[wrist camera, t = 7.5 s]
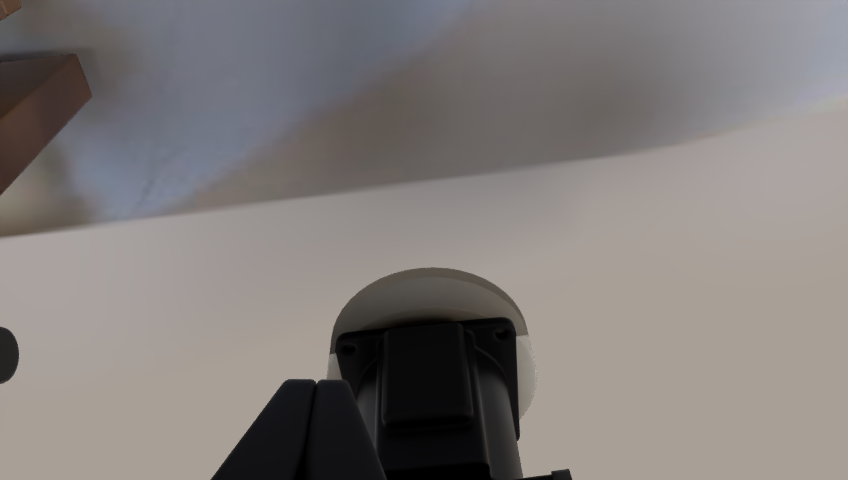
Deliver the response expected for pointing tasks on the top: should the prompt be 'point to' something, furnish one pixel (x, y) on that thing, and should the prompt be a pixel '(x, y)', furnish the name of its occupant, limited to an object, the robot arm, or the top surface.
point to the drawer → (32, 127)
